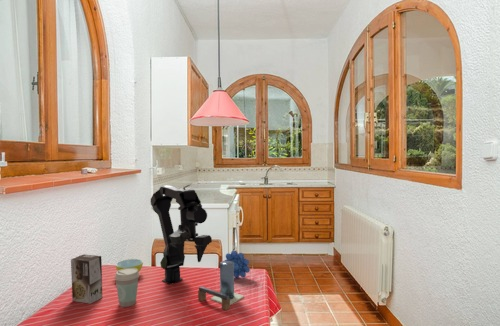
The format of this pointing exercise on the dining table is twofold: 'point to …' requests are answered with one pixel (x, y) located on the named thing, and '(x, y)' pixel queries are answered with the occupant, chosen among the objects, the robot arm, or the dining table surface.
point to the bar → (214, 293)
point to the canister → (227, 278)
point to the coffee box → (86, 278)
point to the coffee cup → (127, 286)
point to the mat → (236, 298)
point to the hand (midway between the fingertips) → (190, 261)
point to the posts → (224, 302)
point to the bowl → (130, 264)
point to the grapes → (238, 263)
